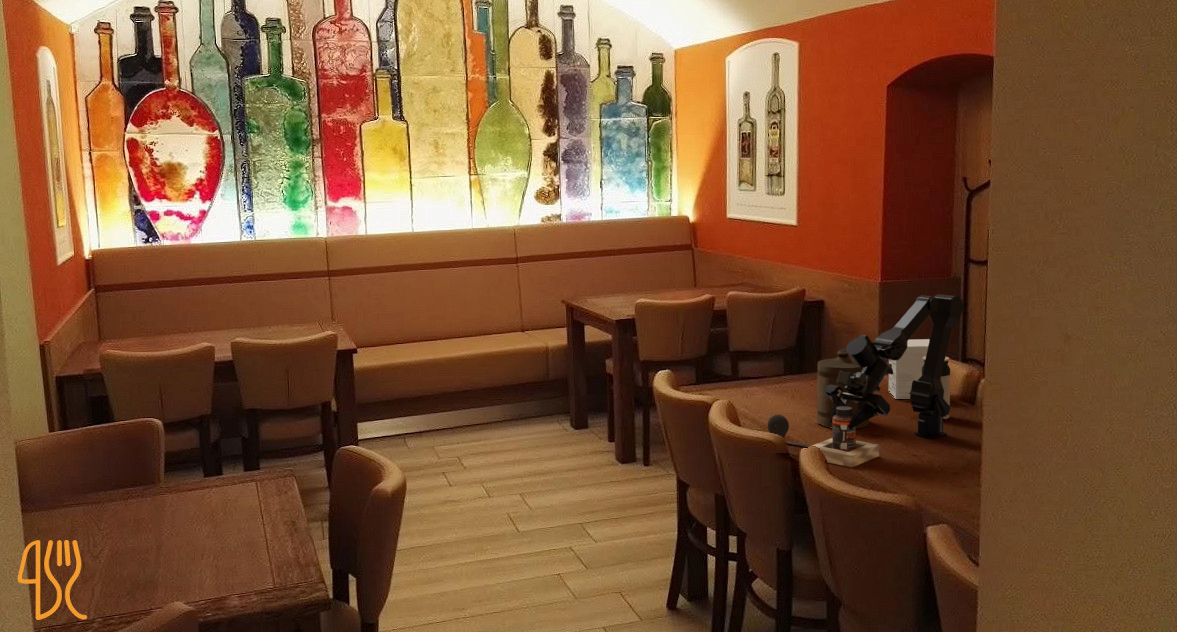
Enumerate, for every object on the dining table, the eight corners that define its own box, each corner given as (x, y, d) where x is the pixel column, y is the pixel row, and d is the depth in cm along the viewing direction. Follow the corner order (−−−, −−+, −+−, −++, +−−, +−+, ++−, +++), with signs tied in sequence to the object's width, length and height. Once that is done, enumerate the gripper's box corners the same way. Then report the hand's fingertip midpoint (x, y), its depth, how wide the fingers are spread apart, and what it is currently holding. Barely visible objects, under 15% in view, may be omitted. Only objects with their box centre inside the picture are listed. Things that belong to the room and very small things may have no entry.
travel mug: (951, 420, 299) (952, 360, 296) (922, 420, 300) (923, 360, 298) (947, 414, 306) (948, 355, 304) (919, 414, 308) (920, 355, 305)
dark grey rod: (824, 450, 273) (824, 447, 273) (823, 451, 272) (823, 448, 272) (783, 443, 281) (783, 440, 281) (782, 444, 280) (782, 441, 280)
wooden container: (851, 415, 310) (851, 343, 306) (879, 426, 296) (879, 351, 292) (807, 420, 305) (807, 347, 302) (834, 432, 291) (834, 356, 288)
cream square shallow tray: (835, 447, 275) (835, 436, 275) (878, 456, 266) (879, 444, 266) (807, 458, 266) (807, 447, 266) (851, 467, 257) (851, 455, 257)
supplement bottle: (849, 454, 262) (849, 411, 260) (828, 451, 266) (827, 408, 264) (859, 449, 266) (859, 406, 265) (838, 445, 270) (838, 404, 269)
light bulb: (765, 449, 276) (765, 413, 275) (785, 447, 277) (785, 411, 275) (770, 454, 271) (770, 418, 269) (791, 453, 271) (791, 416, 270)
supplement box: (929, 391, 337) (929, 338, 335) (938, 400, 324) (939, 345, 322) (887, 391, 339) (888, 339, 336) (895, 400, 326) (895, 346, 323)
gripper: (828, 354, 273) (798, 401, 268) (882, 364, 257) (851, 414, 253) (849, 379, 278) (820, 425, 274) (903, 390, 262) (873, 440, 258)
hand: (840, 425), depth 264 cm, fingers closed on supplement bottle, 6 cm apart
